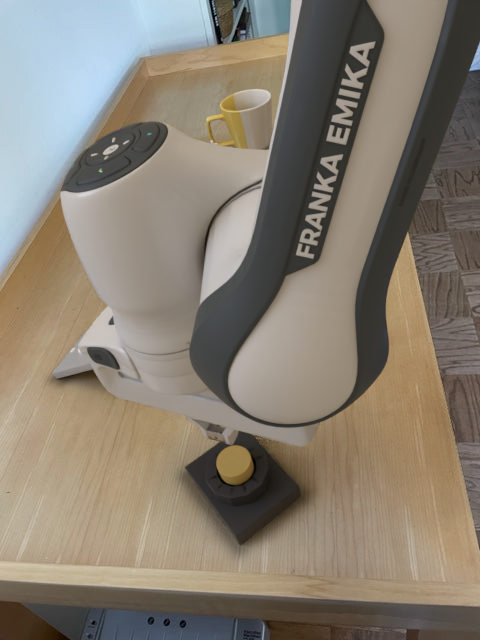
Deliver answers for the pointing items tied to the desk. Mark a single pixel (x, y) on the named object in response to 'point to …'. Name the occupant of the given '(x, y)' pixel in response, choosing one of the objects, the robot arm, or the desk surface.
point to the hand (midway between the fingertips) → (222, 435)
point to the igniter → (245, 489)
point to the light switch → (72, 363)
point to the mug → (246, 119)
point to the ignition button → (235, 465)
